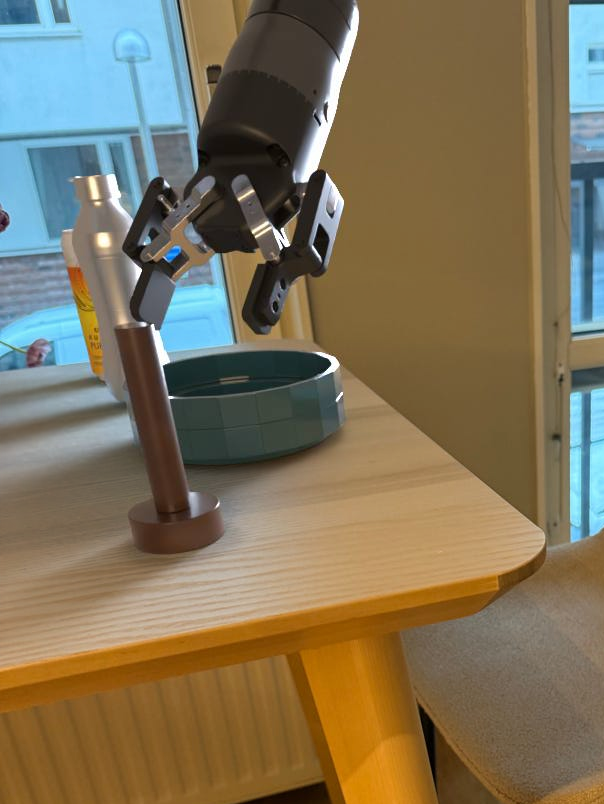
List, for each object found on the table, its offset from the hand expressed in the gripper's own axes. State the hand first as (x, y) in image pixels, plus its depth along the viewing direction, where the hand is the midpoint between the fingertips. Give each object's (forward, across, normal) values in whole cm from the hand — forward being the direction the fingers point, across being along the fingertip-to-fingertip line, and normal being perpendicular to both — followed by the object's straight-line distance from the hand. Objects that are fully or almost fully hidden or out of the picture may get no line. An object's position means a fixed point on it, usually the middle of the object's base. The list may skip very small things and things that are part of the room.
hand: (197, 325), depth 58 cm
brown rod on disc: (+12, 0, +4) cm, 13 cm away
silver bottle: (-8, -27, +25) cm, 38 cm away
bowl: (-2, -9, +19) cm, 21 cm away
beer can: (-14, -38, +31) cm, 51 cm away
